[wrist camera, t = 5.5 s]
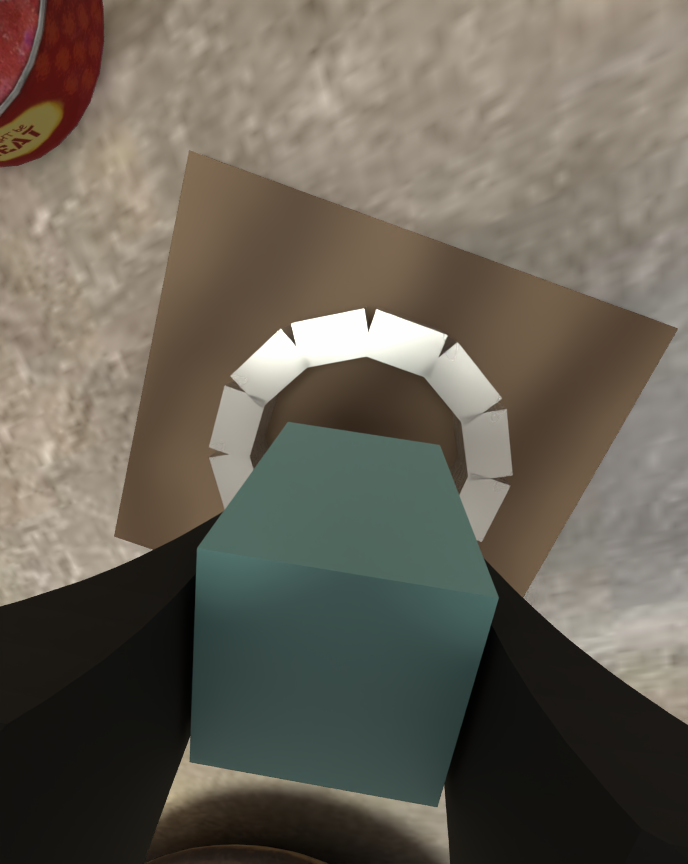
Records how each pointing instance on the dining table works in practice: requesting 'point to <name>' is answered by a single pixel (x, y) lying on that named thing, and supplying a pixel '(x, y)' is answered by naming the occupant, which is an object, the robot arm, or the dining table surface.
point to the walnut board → (365, 377)
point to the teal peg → (340, 617)
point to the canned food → (46, 72)
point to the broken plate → (235, 856)
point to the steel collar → (389, 343)
